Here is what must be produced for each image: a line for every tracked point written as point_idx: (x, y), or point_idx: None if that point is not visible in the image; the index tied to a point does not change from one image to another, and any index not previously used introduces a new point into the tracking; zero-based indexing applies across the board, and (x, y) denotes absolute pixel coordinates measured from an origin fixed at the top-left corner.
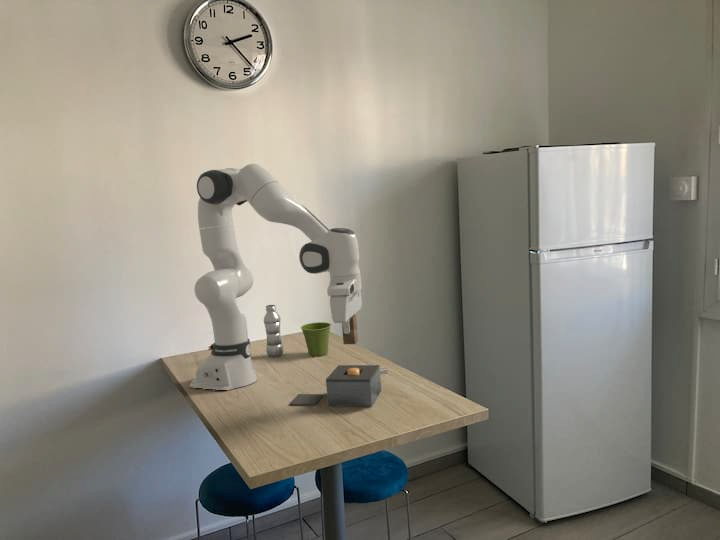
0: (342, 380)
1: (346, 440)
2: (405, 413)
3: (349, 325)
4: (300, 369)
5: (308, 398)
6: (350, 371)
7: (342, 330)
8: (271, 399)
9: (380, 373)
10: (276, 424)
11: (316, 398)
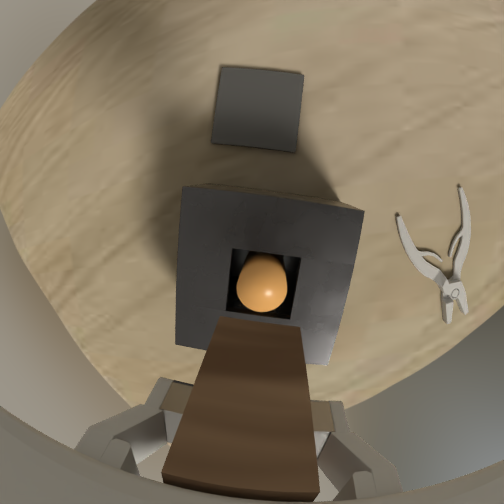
0: (178, 252)
1: (45, 262)
2: (162, 370)
3: (150, 450)
4: (496, 80)
5: (260, 112)
6: (238, 281)
7: (198, 374)
8: (276, 14)
9: (442, 305)
10: (104, 86)
11: (258, 136)
